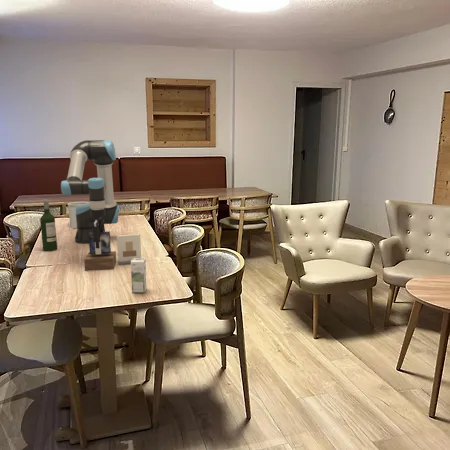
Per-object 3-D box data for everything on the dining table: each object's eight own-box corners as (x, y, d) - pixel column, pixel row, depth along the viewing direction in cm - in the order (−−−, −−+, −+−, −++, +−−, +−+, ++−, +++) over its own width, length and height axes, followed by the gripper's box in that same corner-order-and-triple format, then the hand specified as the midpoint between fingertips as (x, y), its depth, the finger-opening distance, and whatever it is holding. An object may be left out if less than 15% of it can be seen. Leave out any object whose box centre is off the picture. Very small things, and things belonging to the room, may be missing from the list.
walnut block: (89, 263, 236) (88, 252, 235) (116, 262, 238) (115, 251, 236) (84, 271, 222) (84, 259, 221) (113, 270, 224) (112, 258, 223)
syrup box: (146, 288, 197) (145, 257, 194) (144, 293, 192) (143, 261, 189) (134, 288, 197) (132, 257, 194) (131, 293, 191) (130, 261, 188)
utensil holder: (68, 225, 325) (66, 202, 321) (89, 223, 331) (87, 200, 328) (70, 229, 312) (68, 205, 308) (92, 227, 318) (90, 203, 314)
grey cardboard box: (118, 262, 236) (116, 234, 233) (140, 260, 240) (139, 233, 236) (118, 265, 231) (117, 237, 227) (141, 263, 234) (140, 235, 231)
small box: (89, 254, 224) (88, 234, 222) (90, 251, 230) (88, 232, 228) (110, 253, 226) (109, 233, 224) (111, 250, 233) (109, 231, 231)
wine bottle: (52, 251, 256) (48, 201, 249) (40, 251, 257) (35, 200, 251) (60, 248, 263) (55, 198, 257) (48, 247, 265) (43, 198, 258)
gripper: (95, 205, 233) (98, 246, 238) (84, 212, 214) (87, 257, 219) (109, 205, 233) (112, 246, 238) (100, 212, 214) (102, 257, 219)
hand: (100, 251), depth 228 cm, fingers closed on small box, 7 cm apart
